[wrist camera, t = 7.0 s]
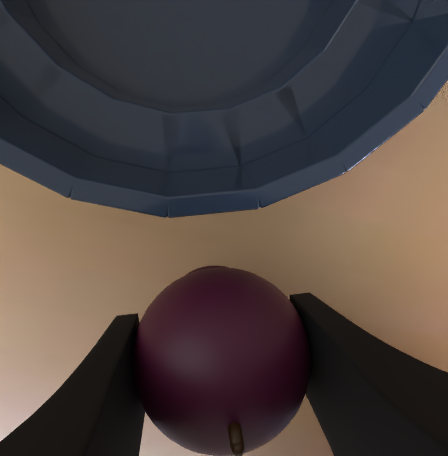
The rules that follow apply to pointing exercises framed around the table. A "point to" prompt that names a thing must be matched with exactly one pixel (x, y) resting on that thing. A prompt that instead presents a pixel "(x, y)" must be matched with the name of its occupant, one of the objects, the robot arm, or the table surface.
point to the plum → (221, 361)
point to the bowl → (209, 95)
